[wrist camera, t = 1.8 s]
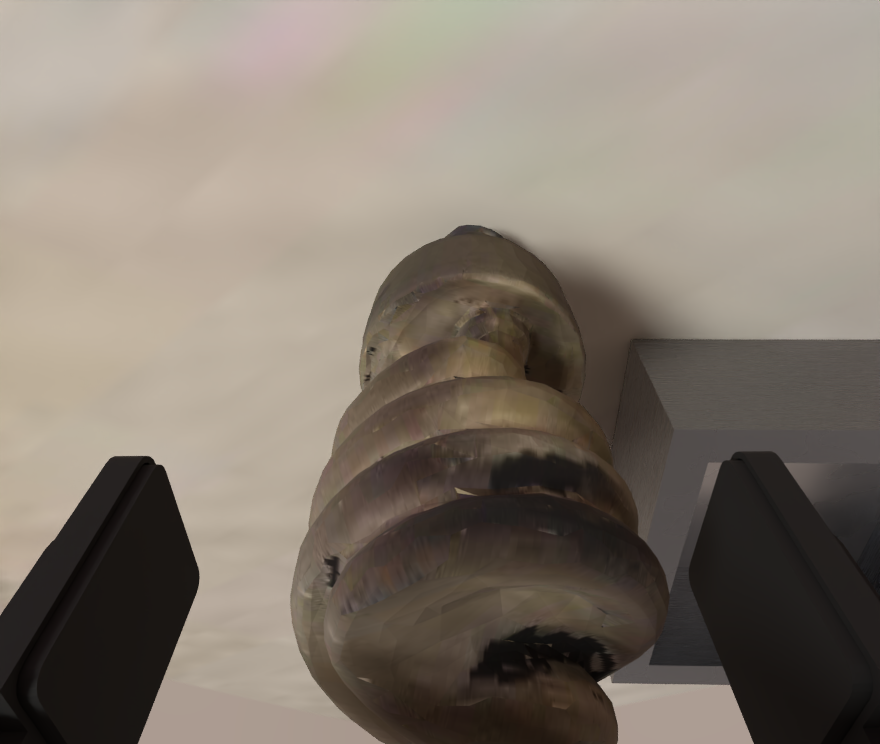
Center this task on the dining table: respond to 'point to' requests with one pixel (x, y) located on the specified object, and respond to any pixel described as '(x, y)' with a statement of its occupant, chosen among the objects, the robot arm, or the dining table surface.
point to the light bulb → (473, 518)
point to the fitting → (742, 429)
